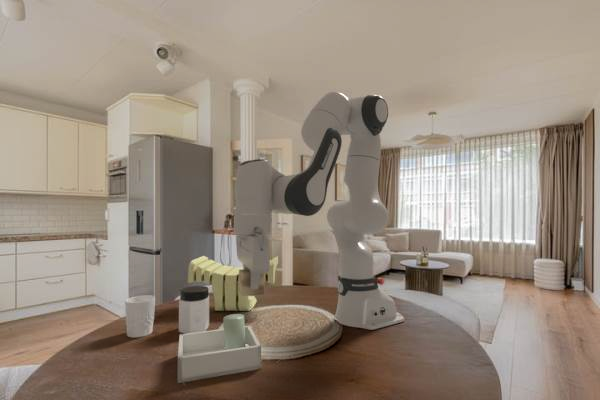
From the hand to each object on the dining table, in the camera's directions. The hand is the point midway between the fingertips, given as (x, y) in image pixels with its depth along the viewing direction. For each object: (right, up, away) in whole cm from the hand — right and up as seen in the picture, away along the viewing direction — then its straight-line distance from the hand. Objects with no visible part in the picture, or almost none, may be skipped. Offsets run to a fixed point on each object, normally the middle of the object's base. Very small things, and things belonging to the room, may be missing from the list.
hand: (251, 285), depth 74 cm
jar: (-20, -19, +21) cm, 35 cm away
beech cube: (0, -2, 0) cm, 2 cm away
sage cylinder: (-4, -17, +2) cm, 18 cm away
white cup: (-35, -19, +18) cm, 44 cm away
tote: (-8, -18, 0) cm, 20 cm away
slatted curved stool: (-12, -20, +43) cm, 49 cm away
